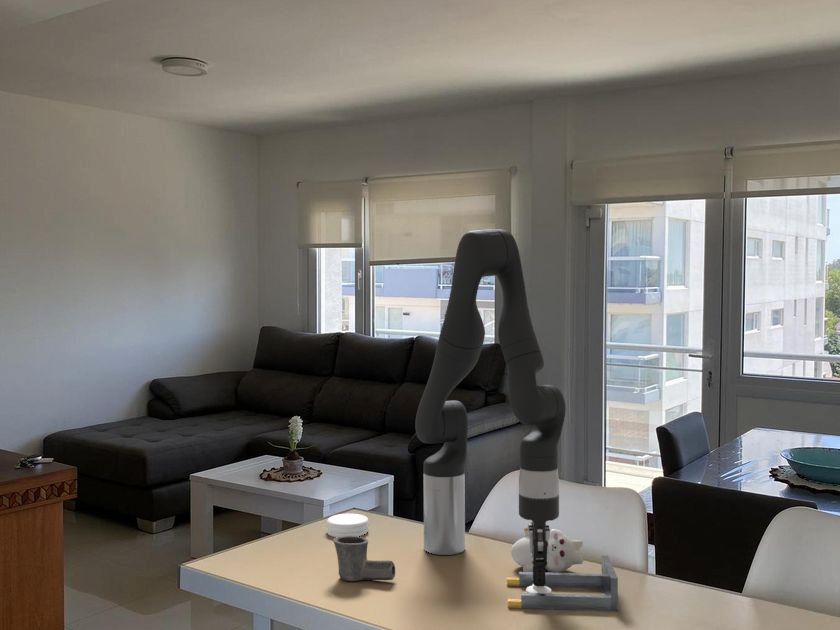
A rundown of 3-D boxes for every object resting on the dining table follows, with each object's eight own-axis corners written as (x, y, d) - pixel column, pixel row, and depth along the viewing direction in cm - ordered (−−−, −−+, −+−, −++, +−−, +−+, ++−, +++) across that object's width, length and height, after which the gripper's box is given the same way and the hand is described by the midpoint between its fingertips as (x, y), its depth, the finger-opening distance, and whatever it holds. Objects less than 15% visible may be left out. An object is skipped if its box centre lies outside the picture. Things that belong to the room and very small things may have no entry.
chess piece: (554, 590, 150) (554, 538, 150) (549, 600, 145) (549, 546, 145) (528, 587, 152) (528, 535, 151) (523, 596, 147) (523, 543, 147)
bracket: (506, 583, 155) (506, 553, 155) (607, 586, 154) (607, 555, 153) (507, 607, 143) (507, 575, 143) (617, 611, 142) (617, 578, 141)
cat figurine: (506, 522, 164) (579, 520, 159) (516, 533, 171) (585, 531, 166) (506, 569, 160) (580, 569, 155) (515, 578, 166) (587, 578, 161)
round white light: (318, 533, 189) (318, 519, 189) (347, 524, 197) (347, 510, 197) (347, 542, 183) (347, 527, 183) (377, 532, 190) (377, 517, 190)
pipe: (389, 588, 154) (389, 547, 153) (328, 582, 157) (327, 542, 156) (398, 577, 159) (397, 537, 159) (338, 571, 163) (338, 533, 162)
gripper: (561, 501, 141) (561, 597, 141) (556, 483, 155) (556, 570, 155) (519, 500, 142) (519, 596, 142) (517, 482, 155) (518, 569, 156)
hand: (538, 582), depth 149 cm, fingers closed on chess piece
